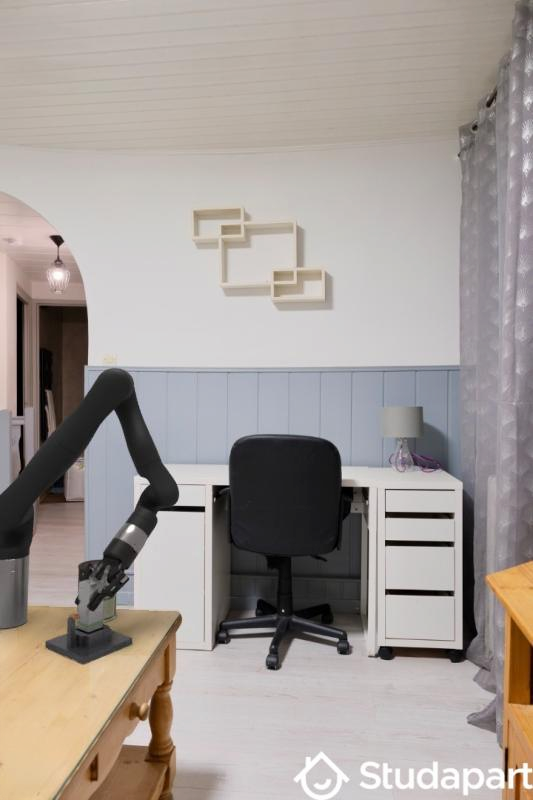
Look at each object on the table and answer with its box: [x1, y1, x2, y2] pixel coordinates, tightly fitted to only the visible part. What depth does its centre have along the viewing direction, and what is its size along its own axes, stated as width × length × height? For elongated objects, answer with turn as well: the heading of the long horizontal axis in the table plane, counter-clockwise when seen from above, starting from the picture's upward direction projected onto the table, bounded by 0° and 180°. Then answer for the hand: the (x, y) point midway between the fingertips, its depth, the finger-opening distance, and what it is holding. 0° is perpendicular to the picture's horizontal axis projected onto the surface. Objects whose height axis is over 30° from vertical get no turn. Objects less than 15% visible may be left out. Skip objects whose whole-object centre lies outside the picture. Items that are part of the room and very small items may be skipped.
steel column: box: [76, 579, 104, 632], centre depth 135 cm, size 4×4×11 cm
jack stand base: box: [44, 612, 133, 665], centre depth 135 cm, size 14×14×8 cm
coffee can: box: [76, 559, 118, 624], centre depth 154 cm, size 10×10×14 cm
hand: (83, 607), depth 134 cm, fingers closed on steel column, 4 cm apart
